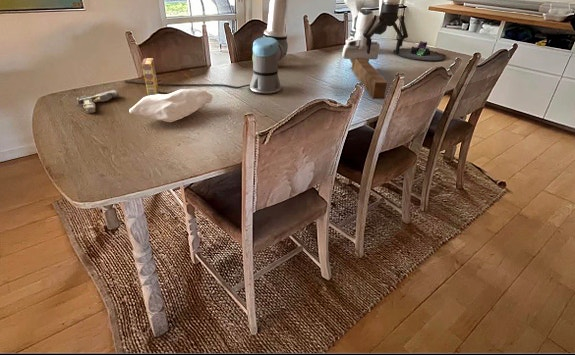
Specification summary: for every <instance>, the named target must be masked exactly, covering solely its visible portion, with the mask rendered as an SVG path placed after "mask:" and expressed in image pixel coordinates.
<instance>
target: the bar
mask: <svg viewBox="0 0 575 355" xmlns="http://www.w3.org/2000/svg"><path fill="white" fill-rule="evenodd" d="M352 62H353V63H354V67H351V66H350V69H351V70H352V72H353V73H354V75H355V76H356V77H357V78H358V80H359V82H361V84H362V83H363V84H364V85H363V84H362V85H363V87H364V88H365V90H366V91H367V92H368V94H369V95H370V97H371V98H372V99H385V97H386V91H387V87H388V86H387V85H388V82H387V81H386V80H385V78H384V77H383V76H382V75H381V74H380V73H379V72H378V70H376V69H375V67H374V66H373V65H372V64H371V63H370V61H369V62H368V61H367V60H366V59H365V58H356V59H353V61H352Z"/></svg>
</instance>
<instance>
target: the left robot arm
mask: <svg viewBox="0 0 575 355" xmlns="http://www.w3.org/2000/svg"><path fill="white" fill-rule="evenodd" d="M268 2H269V3H268V16H267V26H266V29H265V30H263V35H262V37H258V38H256V39H255V40H254V41H253V43H252V57H253V60H252V69H253V70H252V77H251V81H250V83H249V84H244V85H240V86H237V85H235V86H234V85H231V84H223V83H158V82H157V84H158V86H175V87H177V86H178V87H179V86H180V87H193V86H194V87H200V86H201V87H202V86H203V87H206V86H207V87H228V88H233V89H241V88H246V87H249V91H250V92H251V93H253V94H255V95H261V96H271V95H277V94H279V93H281V92H282V85H281V81H280V78H279V61H281V60H282V59H283V58H284V57H285V56H286V55H287V52H288V47H289V46H288V34H287V32H286V25H287V24H286V23H287V15H288V6H289V0H269V1H268ZM382 2H383V3H382V5H381V12H380V15H379V16H377V15H378V14H373V16H372V20H371V22H370V23H369V25H368V27H367V28H366V30H365V32H364V33H363V36H364V37H366V46H367V53H368V54H370V48H371V42H373V40H372V37H373V36H374V35H376V34H375V32H376V31H377V30H378V29H379V28H380V27H382V26H387V27H392V28H393V29H394V31H395V32H396V34H397V36H398V38H397V39H396V44H395V45H396V46H395V49H394V50H395V53H396V54H395V53H394V54H395V55H397V54H399V49H401V47H402V46H403V42H404V40H405V39H408V37H409V34H408V31H407V27H406V23H405V15H403V14H400V15H399V9H400V4H399V3H401V0H382ZM378 18H379V20H380V21H379V23H378V24H377V25H376V26H375V27H374V28H373V29H372V30H371V28H372V27H373V25H374V23H375V21H377V19H378ZM397 21H399V24H400V28H401V30H400V28H399V27H398V24H397V23H396V22H397ZM370 30H371V32H370V33H369V31H370ZM368 33H369V34H368ZM124 83H131V84H139V85H140V84H141V85H146V83H145V81H143V82H142V81H135V80H126V79H125V80H124Z"/></svg>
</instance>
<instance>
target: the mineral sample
mask: <svg viewBox="0 0 575 355" xmlns="http://www.w3.org/2000/svg"><path fill="white" fill-rule="evenodd" d="M427 46H428V42H427V41H422V40H421V41H420V42H419V43H418V45H417V46H411V48H406V47H402V48H401V47H400V49H399V54H396V53H395V50H396V49H393V51H392V52H393V53H394V54H395V55H397V56H400V57H403V58H407V59H413V60H420V61H442V60H445V59H446V58H447V57H446V56H447V55H446V54H444V53H440V52H437V51H432V50H430V48H428V47H427Z"/></svg>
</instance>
